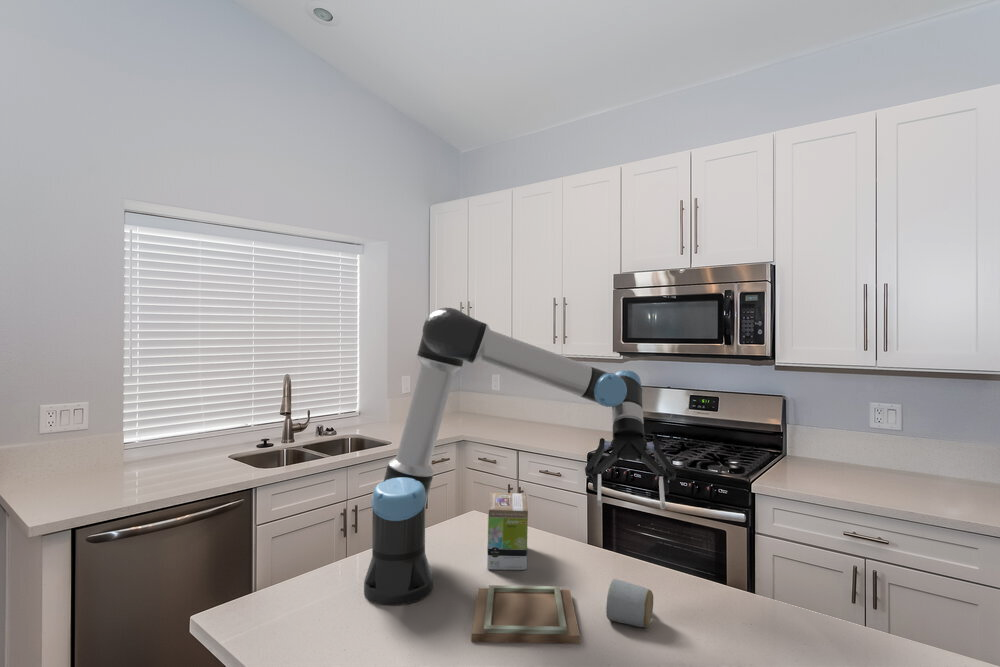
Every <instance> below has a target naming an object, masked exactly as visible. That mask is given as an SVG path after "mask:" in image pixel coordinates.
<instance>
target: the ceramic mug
mask: <svg viewBox="0 0 1000 667" xmlns="http://www.w3.org/2000/svg"><path fill="white" fill-rule="evenodd" d="M606 597H607V598H606V607H605V611H606V612H605V613H606V617H607V618H606V619H608V621H613V622H617V623H621V624H626V625H629V626H633V627H638V628H647V627H649V626H650V625H651V622H652V618H653V611H654V610H653V609H654V593H653V591H652V590H651V589H649V588H647V587H645V586H642V585H640V584H639V585H638V584H634V583H631V582H627V581H625V580H621V579H618V578H613V579H611V581H610V584H609V587H608V591H607V596H606Z"/></svg>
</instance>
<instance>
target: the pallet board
mask: <svg viewBox="0 0 1000 667" xmlns="http://www.w3.org/2000/svg"><path fill="white" fill-rule="evenodd" d="M471 628H472V629H471V639H470V640H471V642H472V643H476V642H477V643H481V642H482V643H483V642H484V643H521V644H522V643H523V644H524V643H525V644H526V643H528V644H563V645H564V644H571V645H573V644H574V645H580V640H581V639H580V638H581V637H580V631H579V627H578V622H577V616H576V611H575V608H574V603H573V598H572V593H571V589H561V587H560V586H558V585H557V586H556V585H555V586H554V585H553V586H552V585H551V586H549V585H548V586H547V585H544V586H543V585H502V584H501V585H500V584H499V585H497V584H490V585H488V587H479V588H478V589H477V596H476V602H475V608H474V615H473V621H472V627H471Z"/></svg>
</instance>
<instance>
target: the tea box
mask: <svg viewBox="0 0 1000 667" xmlns="http://www.w3.org/2000/svg"><path fill="white" fill-rule="evenodd" d="M487 513H488V514H487V549H486V550H487V551H486V552H487V556H486V558H487V559H486V560H487V562H486V563H487V564H486V566H487V567H486V569H487V570H493V571H494V570H496V571H497V570H499V571H526V570H527V568H528V567H527V566H528V565H527V564H528V533H529V532H528V530H529V529H528V518H529V517H528V516H529V514H528V513H529V512H528V501H527V494H526V493H513V492H512V493H511V492H510V493H508V492H490V493H489V504H488V512H487Z"/></svg>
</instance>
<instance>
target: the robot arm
mask: <svg viewBox="0 0 1000 667" xmlns="http://www.w3.org/2000/svg"><path fill="white" fill-rule="evenodd" d="M423 323H424V324H423V326H422V335H421V339H420V344H419V346H418V350H417V354H416V357H417V359H418V361H419V363H420V367H419V370H418V374H417V378H416V382H415V386H414V389H413V393H412V397H411V400H410V404H409V408H408V413H407V416H406V419H405V423H404V427H403V431H402V434H401V438H400V442H399V446H398V450H397V454H396V456H395V457H394V458H392V459H391V460H389V461H388V464H387V466H386V470H385V474H384V478H383V481H381V482H379V483H378V484H377V485H375V487H374V488H373V490H372V497H371V508H372V514H371V516H372V521H371V522H372V529H371V530H372V533H371V535H372V536H371V537H372V538H371V539H372V540H371V541H372V542H371V544H372V547H371V549H372V550H371V554H372V556H371V559H370V563H369V566H368V569H367V572H366V576H365V578H364V580H363V581H364V583H363V594H364V597H366V599H367V600H369V601H370V602H372V603H374V604H377V605H378V604H379V605H384V606H385V605H386V606H400V605H401V606H402V605H407V604H411V603H415V602H418V601H420V600H423V599H424V598H425V597H427V596H428V595H430V593H431V592H432V591H433V588H434V587H433V586H434V577H433V573H432V570H431V567H430V564H429V560H428V557H427V554H426V513H427V512H426V511H427V501H428V496H429V492H430V489H431V486H432V482H433V477H434V474H435V472H434V470H433V468H432V466H431V462H432V459H433V458H432V457H433V454H434V450H435V446H436V443H437V438H438V436H439V432H440V428H441V424H442V421H443V417H444V413H445V410H446V405H447V401H448V398H449V394H450V391H451V386H452V383H453V379H454V375H455V373H456V372H457V371H459V370H460V369H462V367H463V364H464V362H468V363H471V364H474V365H475V364H476V363H478V362H481V363H484V364H487V365H489V366H493V367H496V368H497V369H500V370H503V371H506V372H510V373H512V374H515V375H517V376H521V377H523V378H527V379H530V380H532V381H535V382H538V383H541V384H544V385H547V386H549V387H552V388H555V389H558V390H561V391H564V392H566V393H569V394H571V395H574V396H575V395H576V396H577V397H580V398H583V399H586V400H588V401H591V402H594V403H597V404H598V405H601V406H603V407H607V408H608V407H610V408H611V409H612V412H611V413H612V440H611V441H609V440H605V438H604V437H601V438H600V439H599V444H598V446H597V448H596V450H595V451H594V453H593V455H592V456H591V458H590V459H589V461H588V463H587V464H586V465H585V468H584V472H585V476H586V477H590V478H592V491H594V492H595V491H597V507H602V475H603V474H604V473H606V471H607V470H608V469H609V468H610V467H611V466H613V464H614V463H616V462H617V461H619V459H622V461H627V460H630V461H636V460H639V461H640V462H641V463H643V464H644V465H645V466H646V467H647V468H648V469H650V471H651V472H652V473H654V474H655V476H656V477H658V487H659V488H658V490H659V502H660V504H659V506H660V510H665V506H666V498H665V495H669V492H670V485H669V481H675V480H676V475H677V472H676V469H675V468H674V466H673V465H672V464H671V462H670V460H669V459H668V458H667V456H666V454H665V453H664V451H662V450H663V449H661V447H660V444H659V443H660V442H659V440H657V439H653V440H652V441H650V442H647V441H646V440H645V426H644V423H645V422H644V410H643V396H642V395H643V386H642V382H641V377H640V376H639V374H637V373H636V372H635V371H633V370H628V369H627V370H623V369H622V370H618V371H617V372H615V373H613V372H608V371H605V370H602V369H599V368H596V367H594V366H591V365H588V364H585V363H583V362H581V361H577V360H574V359H572V358H569V357H566V356H563V355H560V354H559V353H555V352H553V351H549V350H546V349H544V348H541V347H538V346H535V345H533V344H530V343H527V342H524V341H523V340H522V341H521V340H519V339H516V338H514V337H511V336H508V335H505V334H503V333H500V332H498V331H493V330H492V329H491V328H490V326H489V324H488V323H486V322H483V321H481V320H480V321H479V320H477V319H475V318H474V317H471V316H469V315H467V314H466V313H464V312H462V311H461V310H458V309H457V308H453V307H442V308H438V309H436V310H433V312H431V313H430V314H429V315H428V316H427V317H426V319H425V320H424V322H423ZM609 448H610V449H612V450H611V451H610V453H609V455H607V456H606V457H605V458H604V459H603V460H602V461H601V462H600V460H601V458H602V456H604V453H605V452H606V451H607V450H608V449H609ZM647 449H649V450H650V451H651V453H653V454H654V455H653V456H655V458H656V460H657V461H658V462H659V464H658V462H656V461H655V460H654V459H653V458H652V457H651V456H650V455H649V454H648V452H647ZM599 462H600V463H599ZM598 463H599V464H598Z"/></svg>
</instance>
